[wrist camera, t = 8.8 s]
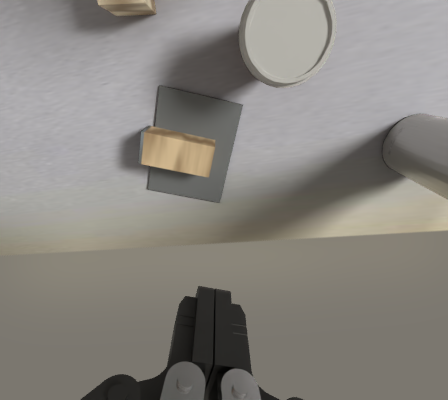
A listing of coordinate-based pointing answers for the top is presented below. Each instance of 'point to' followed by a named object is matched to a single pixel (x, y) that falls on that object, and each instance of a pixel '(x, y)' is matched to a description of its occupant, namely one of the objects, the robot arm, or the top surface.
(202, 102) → the mat
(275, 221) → the top surface
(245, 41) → the disposable coffee cup
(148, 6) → the maple block
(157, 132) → the oak block
